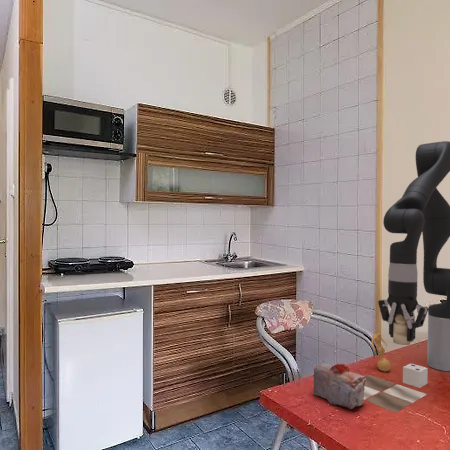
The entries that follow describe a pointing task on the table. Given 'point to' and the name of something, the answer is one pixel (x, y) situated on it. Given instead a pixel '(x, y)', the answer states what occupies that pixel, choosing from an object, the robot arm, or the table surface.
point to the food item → (339, 385)
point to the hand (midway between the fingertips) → (401, 338)
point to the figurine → (383, 362)
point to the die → (415, 375)
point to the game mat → (388, 400)
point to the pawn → (400, 330)
